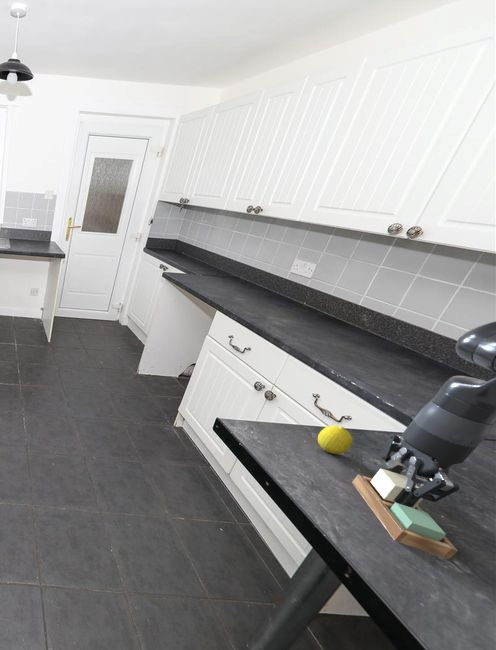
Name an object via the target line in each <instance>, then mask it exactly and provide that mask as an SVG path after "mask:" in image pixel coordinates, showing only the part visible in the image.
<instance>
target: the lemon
mask: <svg viewBox="0 0 496 650" xmlns="http://www.w3.org/2000/svg"><path fill="white" fill-rule="evenodd" d="M353 441H354V440H353V436H352V434H351V432H350V431H348V430H347V429H346V428H345V427H344V426H339V425H328V426H326V427H324V428H322V430H320V431H319V433H318V436H317V442H318V445H319V447H321V449H322V450H323V451H325V452H326V453H329V454H333V455H342V454H344V453H347V452H348V451H349V450H350V449H351V447H352V446H353Z"/></svg>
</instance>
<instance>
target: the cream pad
mask: <svg viewBox="0 0 496 650" xmlns="http://www.w3.org/2000/svg"><path fill="white" fill-rule="evenodd" d="M401 474H402V473H401ZM401 474H398V473H394V472H391V471H388V470H385V468H379V470H378V471H377V472H376V473H375V475H374V476H373V477H372V480H371V481H370V482H371V483H372V485H373V486H374V487H375V489H376V490H377V491H378V492H379V494H380V495H381V496H382V497H383V499H385V500H388V501H391V502H394V503H396V502H395V501H394V499H395V498H396V497H397V495H398V494H399V493H400V492H401V491H402V490H403V488H405V486H406V483H407V480H408V478H406V475H404V474H402V475H401ZM415 487H416V488H420V486H418V483H417V484H416V486H415ZM422 501H423V499H422V498H420V499H419V500H418V501H417V503H416V504H414V506H413V507H411V508H415V507H416V506H417V505H418V506H419V504H420V503H421V502H422Z"/></svg>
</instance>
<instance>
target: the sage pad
mask: <svg viewBox="0 0 496 650" xmlns="http://www.w3.org/2000/svg"><path fill="white" fill-rule="evenodd" d="M389 510H390V511H391V512H392V514H393V515H394V516H395V518H396V519H397V520H398V521H399V523H400V524H401V525H402V526H403V528H404V529H405V530H407V531H410V532H413V533H416V534H419V535H422V536H425V537H428V538H430V539H433V540H436V541H440V540H441V539H442V538H443V537H444V536H445V537H446V536H447V533H446V532H445V531H444V530H443V529H442V528H441V527H440V526H439V525H438V523H437V522H436V521H435V520H434V519H433V518H432V516H431V515H430V514H429V513H428V512H426V511H424V510H422V511H420V510H417V509H414V508H411V507H408V506H405V505H402V504H399V503H395V504H394V505H393V506H392V507H391V508H390V509H389Z"/></svg>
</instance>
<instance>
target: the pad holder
mask: <svg viewBox="0 0 496 650" xmlns="http://www.w3.org/2000/svg"><path fill="white" fill-rule="evenodd" d="M372 479H373V477H368V476H366V475H362V474H360V473H359V474H356V476H355V478H353V480H352V482H351V483H352V485H353V486H354V488H355V489H356V490H357V491H358V493H359V494H360V496H361V497H362V498H363V500H364V501H365V503H366V504H367V505H368V507H369V508H370V509H371V511H372V512H373V514H374V515H375V516H376V517H377V519H378V521H380V523H381V524H382V526H383V527H384V528H385V530H386V531H387V532H388V534H389V535H390V537H391V538H392V539H393V541H395V542H397V543H401V544H402V545H405V546H408V547H412V548H415V549H416V550H420V551H423V552H426V553H429V554H431V555H435V556H437V557H441V558H442V559H446V560H448V561H449V560H450V559H452V558H453V556H454V555H456V554H457V553H458V552H459V551H458V550H459V549H457V548H456V547H455V545H453V543H452V542H451V541H450V540H449V539H448V537H447V536H446V535H445V536H444V537H443V538H442V539H441V540H440V541H436V540H433V539H430V538H428V537H425V536H422V535H419V534H416V533H413V532H410V531H407V530H405V529H404V528H403V526H402V525H401V524H400V523H399V521H398V520H397V519H396V518H395V516H394V515H393V514H392V512H391V511H390V510H389V509H390V508H391V507H392V506H393V505H394V504H395V503H394V502H391V501H388V500H385V499H383V497H382V496H381V495H380V494H379V492H378V491H377V490H376V489H375V487H374V486H373V485H372V483H371V482H370V481H371V480H372ZM414 509H417V510H420V511H423V509H422V508H421V507H420V506H419V504H418V505H417V506H416V507H415V508H414Z"/></svg>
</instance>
